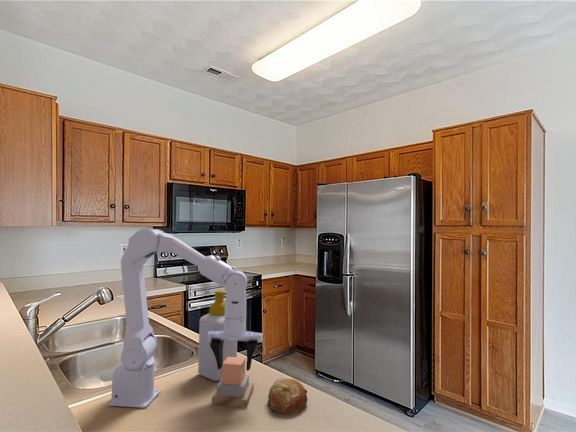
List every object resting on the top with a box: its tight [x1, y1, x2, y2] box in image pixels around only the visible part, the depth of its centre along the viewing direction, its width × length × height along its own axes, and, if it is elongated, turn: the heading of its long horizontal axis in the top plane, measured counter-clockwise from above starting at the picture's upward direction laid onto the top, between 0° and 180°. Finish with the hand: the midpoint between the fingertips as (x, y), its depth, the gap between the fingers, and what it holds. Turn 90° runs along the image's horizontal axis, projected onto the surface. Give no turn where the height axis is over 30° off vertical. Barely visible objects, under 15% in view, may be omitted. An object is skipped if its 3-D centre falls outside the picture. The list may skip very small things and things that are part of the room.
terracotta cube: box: [222, 356, 247, 385], centre depth 87 cm, size 5×5×5 cm
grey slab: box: [216, 374, 250, 397], centre depth 87 cm, size 7×7×2 cm
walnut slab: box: [211, 382, 255, 408], centre depth 87 cm, size 9×9×2 cm
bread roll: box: [266, 377, 308, 415], centre depth 84 cm, size 10×10×8 cm
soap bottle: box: [197, 289, 238, 382], centre depth 101 cm, size 9×9×25 cm
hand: (234, 368), depth 87 cm, fingers open, 7 cm apart
